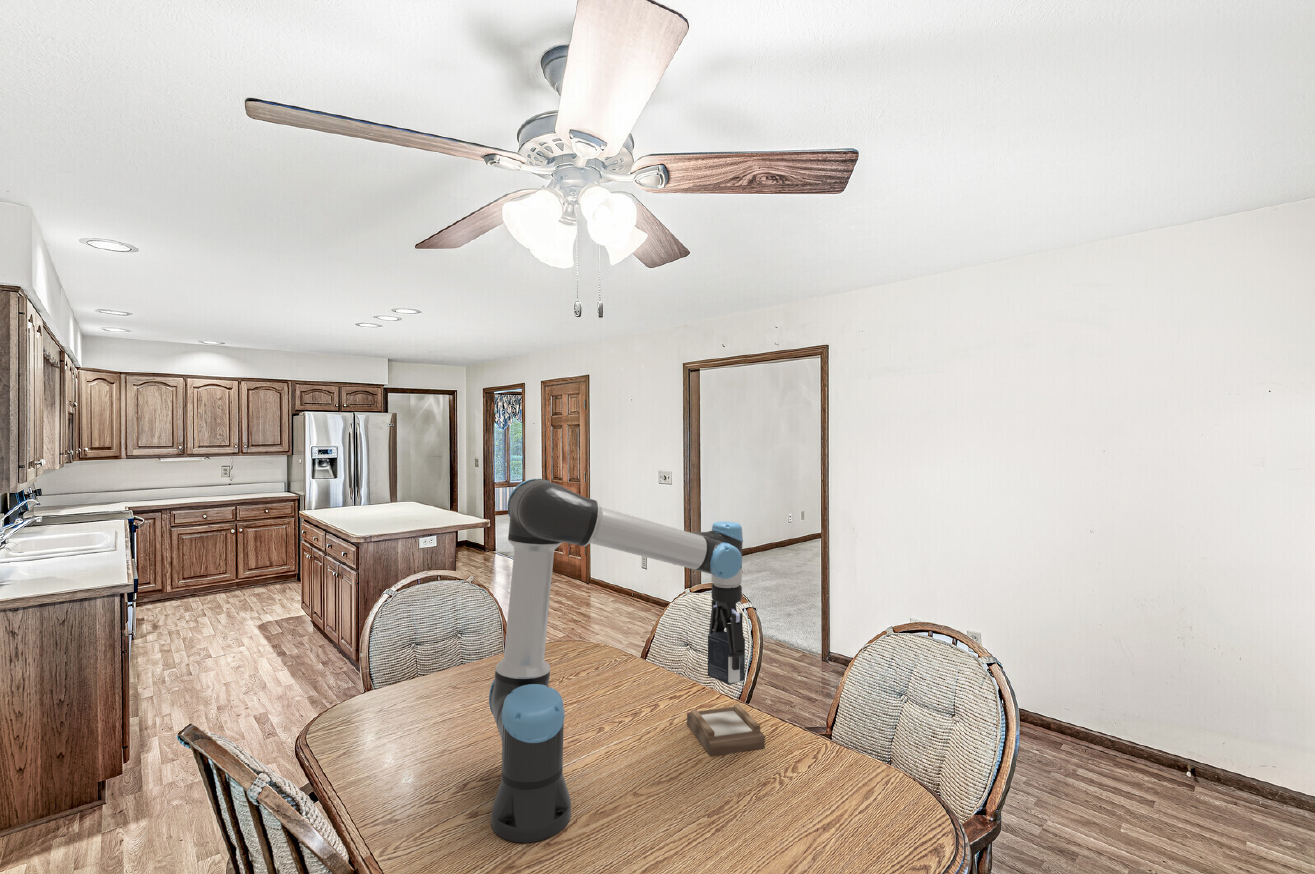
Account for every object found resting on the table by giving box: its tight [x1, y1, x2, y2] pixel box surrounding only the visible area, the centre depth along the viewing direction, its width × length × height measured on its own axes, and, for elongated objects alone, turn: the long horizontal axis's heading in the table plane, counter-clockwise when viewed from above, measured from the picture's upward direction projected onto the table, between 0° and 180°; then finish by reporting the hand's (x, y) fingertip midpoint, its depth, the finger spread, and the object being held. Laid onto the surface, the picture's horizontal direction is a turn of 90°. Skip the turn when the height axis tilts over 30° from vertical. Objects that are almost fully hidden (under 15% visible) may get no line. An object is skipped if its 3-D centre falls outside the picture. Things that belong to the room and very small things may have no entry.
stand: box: [686, 703, 766, 757], centre depth 147 cm, size 16×14×4 cm
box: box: [707, 630, 746, 686], centre depth 147 cm, size 8×6×11 cm
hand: (725, 673), depth 147 cm, fingers closed on box, 9 cm apart
